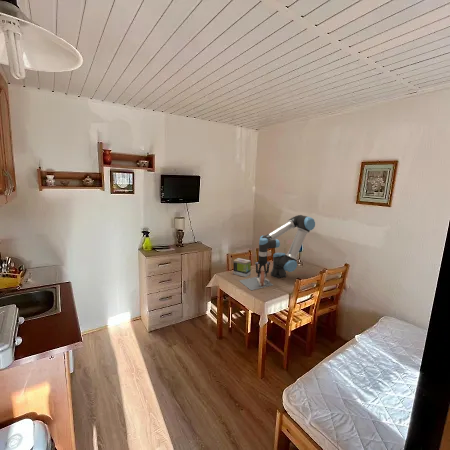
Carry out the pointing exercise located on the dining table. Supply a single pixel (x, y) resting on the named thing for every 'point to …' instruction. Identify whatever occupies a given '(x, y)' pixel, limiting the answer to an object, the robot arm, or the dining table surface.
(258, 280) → the leg
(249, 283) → the felt mat
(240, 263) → the tea box
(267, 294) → the dining table surface
